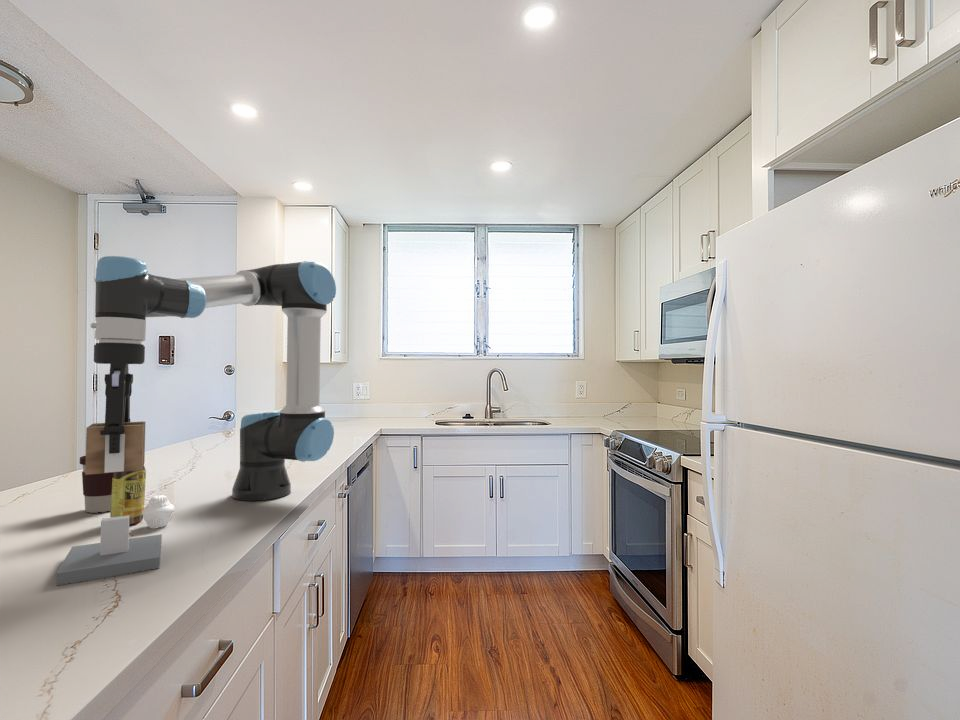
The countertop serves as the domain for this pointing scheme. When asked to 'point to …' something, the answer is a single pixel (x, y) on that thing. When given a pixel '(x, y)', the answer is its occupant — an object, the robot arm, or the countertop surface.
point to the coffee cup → (96, 490)
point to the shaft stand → (111, 554)
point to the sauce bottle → (128, 495)
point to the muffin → (158, 511)
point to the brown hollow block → (133, 447)
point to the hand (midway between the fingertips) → (117, 467)
